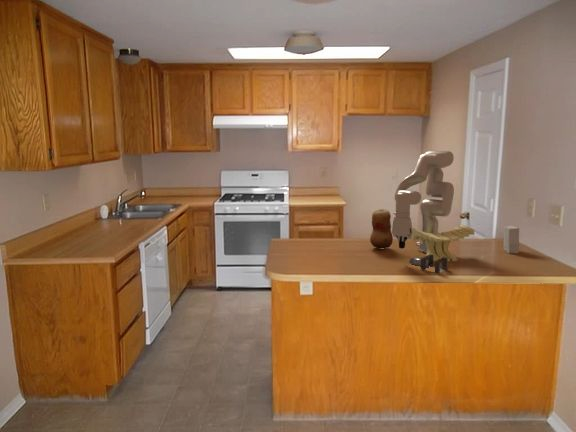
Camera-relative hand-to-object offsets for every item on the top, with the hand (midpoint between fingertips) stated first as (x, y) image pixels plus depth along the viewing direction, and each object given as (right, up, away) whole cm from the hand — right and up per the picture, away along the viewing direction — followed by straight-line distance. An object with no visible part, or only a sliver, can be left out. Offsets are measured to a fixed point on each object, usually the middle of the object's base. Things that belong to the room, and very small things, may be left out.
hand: (401, 247), depth 250 cm
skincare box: (+68, -4, +17) cm, 70 cm away
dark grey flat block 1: (+11, -10, -8) cm, 17 cm away
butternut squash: (-4, -3, +34) cm, 35 cm away
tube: (+8, -10, -5) cm, 14 cm away
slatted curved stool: (+25, -7, +10) cm, 27 cm away
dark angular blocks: (+17, -11, -14) cm, 25 cm away
